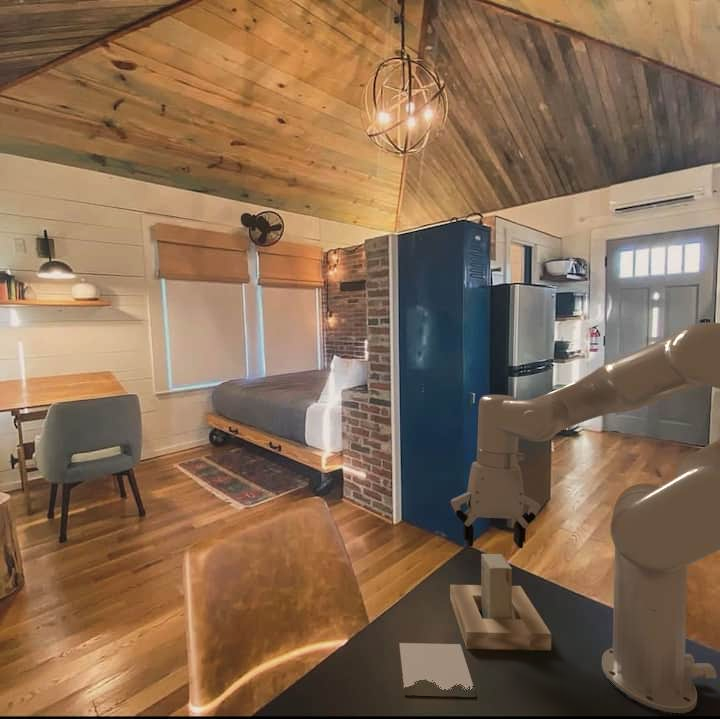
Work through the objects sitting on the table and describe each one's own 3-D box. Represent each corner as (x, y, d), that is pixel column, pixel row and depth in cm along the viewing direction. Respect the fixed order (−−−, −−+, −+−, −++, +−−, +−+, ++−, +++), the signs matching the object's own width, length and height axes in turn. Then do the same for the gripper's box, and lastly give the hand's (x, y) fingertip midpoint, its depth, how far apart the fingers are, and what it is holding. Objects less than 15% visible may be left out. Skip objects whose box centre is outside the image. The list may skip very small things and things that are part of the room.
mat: (460, 646, 74) (460, 644, 74) (476, 697, 63) (476, 695, 63) (399, 645, 74) (399, 642, 74) (404, 696, 63) (404, 693, 63)
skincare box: (512, 633, 78) (513, 569, 77) (489, 633, 78) (490, 569, 77) (501, 611, 84) (502, 552, 84) (480, 611, 84) (480, 552, 84)
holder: (520, 599, 88) (520, 585, 88) (551, 650, 73) (551, 633, 73) (450, 598, 88) (450, 584, 88) (466, 648, 73) (466, 632, 73)
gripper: (533, 454, 84) (530, 536, 84) (448, 452, 84) (446, 533, 85) (549, 465, 76) (545, 555, 77) (456, 462, 77) (453, 552, 77)
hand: (493, 544), depth 81 cm, fingers open, 9 cm apart
